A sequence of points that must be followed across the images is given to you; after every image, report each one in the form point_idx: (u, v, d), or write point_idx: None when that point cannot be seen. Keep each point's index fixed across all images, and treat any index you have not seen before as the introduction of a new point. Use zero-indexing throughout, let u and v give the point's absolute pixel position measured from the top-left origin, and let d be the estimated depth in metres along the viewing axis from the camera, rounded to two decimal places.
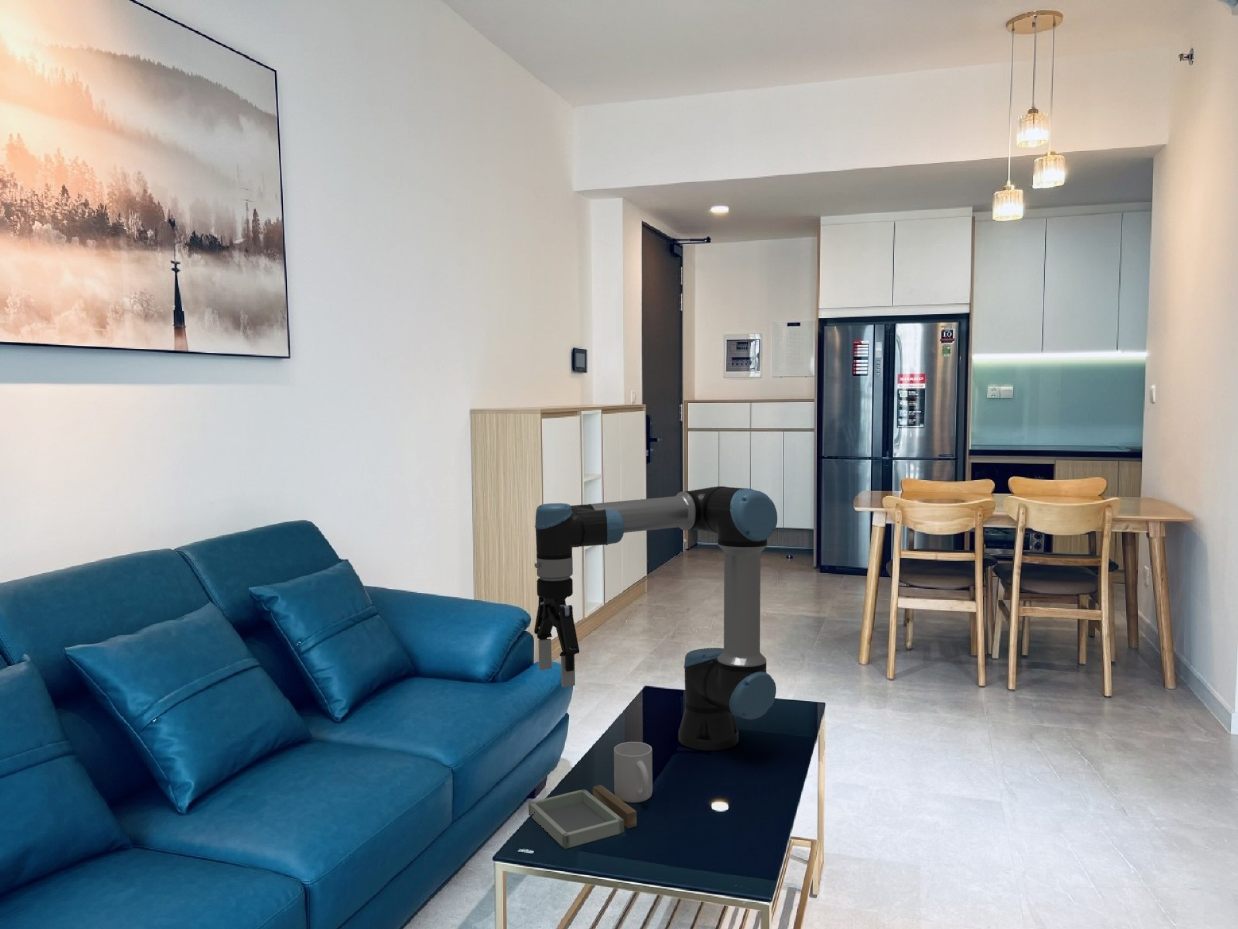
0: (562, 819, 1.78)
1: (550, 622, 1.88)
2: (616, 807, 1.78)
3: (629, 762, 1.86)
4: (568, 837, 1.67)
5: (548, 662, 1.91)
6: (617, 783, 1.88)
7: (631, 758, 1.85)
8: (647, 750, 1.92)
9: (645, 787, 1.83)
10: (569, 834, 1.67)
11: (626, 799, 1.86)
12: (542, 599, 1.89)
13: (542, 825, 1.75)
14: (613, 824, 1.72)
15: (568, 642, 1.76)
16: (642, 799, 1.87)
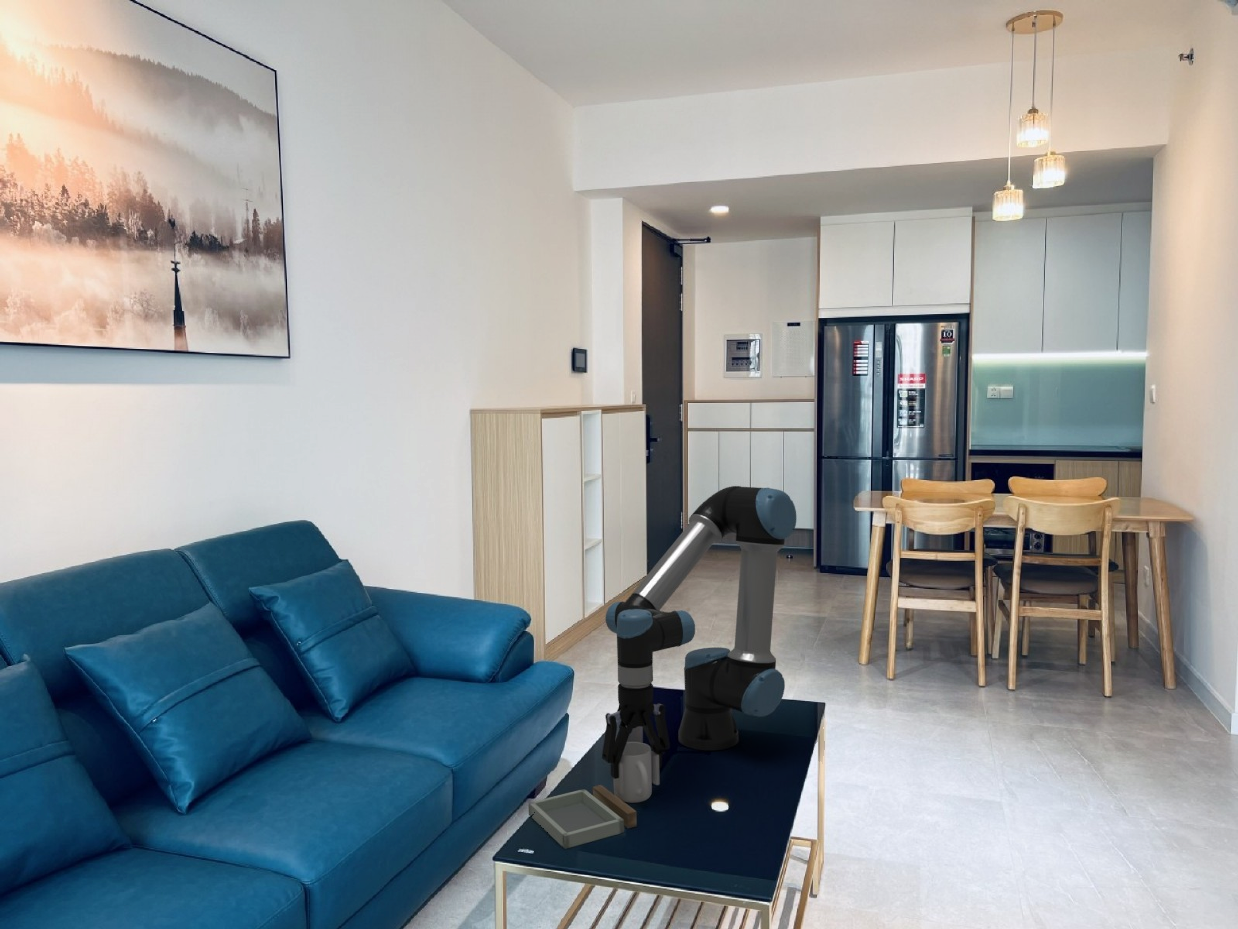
0: (562, 819, 1.78)
1: (647, 731, 1.89)
2: (616, 807, 1.78)
3: (628, 762, 1.86)
4: (568, 837, 1.67)
5: (654, 777, 1.90)
6: None
7: (631, 758, 1.85)
8: (646, 750, 1.92)
9: (644, 787, 1.82)
10: (569, 834, 1.67)
11: (625, 799, 1.86)
12: None
13: (542, 825, 1.75)
14: (613, 824, 1.72)
15: (604, 749, 1.85)
16: (641, 799, 1.86)
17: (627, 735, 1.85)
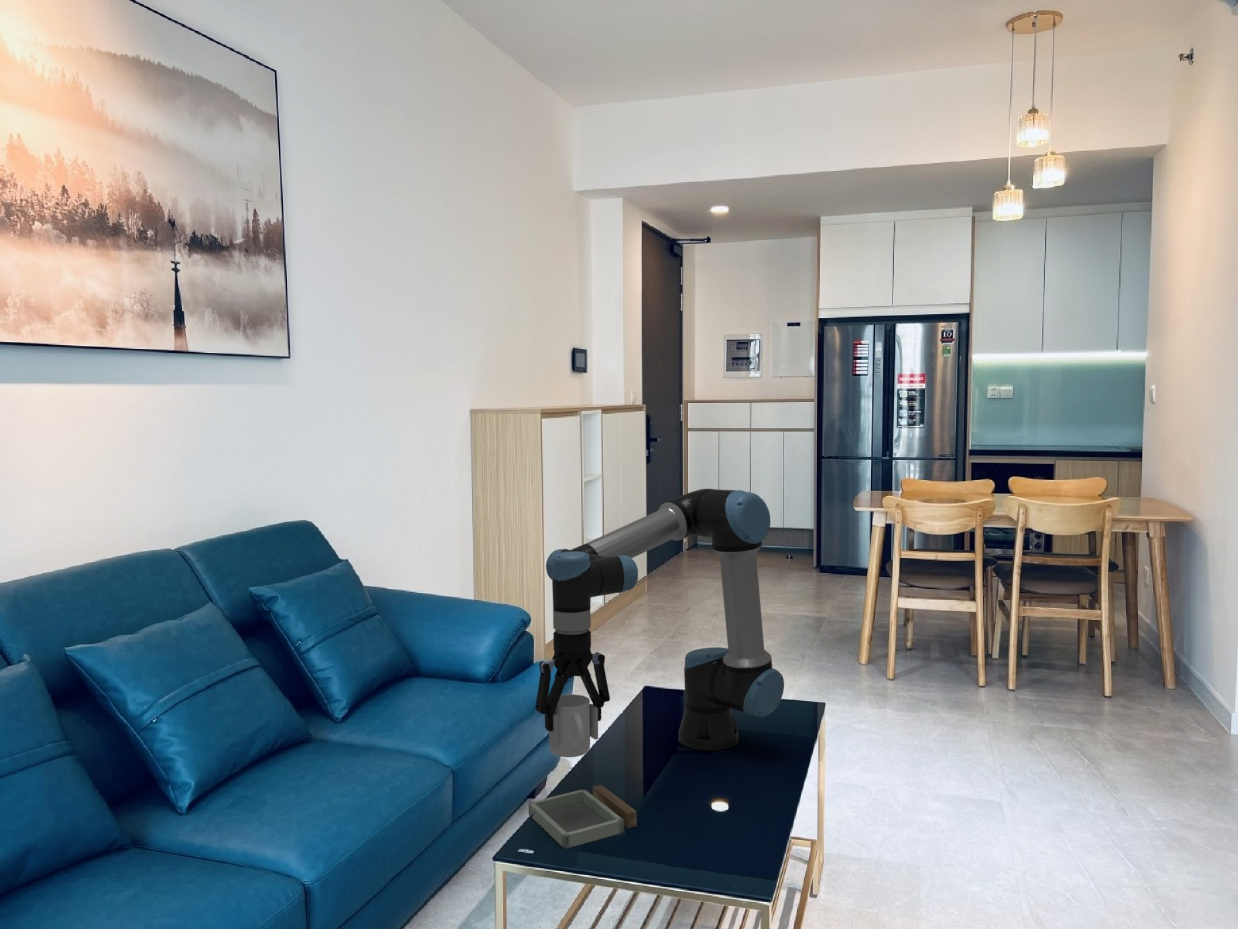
0: (562, 819, 1.78)
1: (585, 682, 1.77)
2: (616, 807, 1.78)
3: (564, 713, 1.74)
4: (568, 837, 1.67)
5: (593, 731, 1.78)
6: None
7: (566, 709, 1.73)
8: (585, 703, 1.80)
9: (580, 740, 1.71)
10: (569, 834, 1.67)
11: (561, 753, 1.74)
12: None
13: (542, 825, 1.75)
14: (613, 824, 1.72)
15: (537, 699, 1.73)
16: (578, 754, 1.74)
17: (562, 685, 1.73)
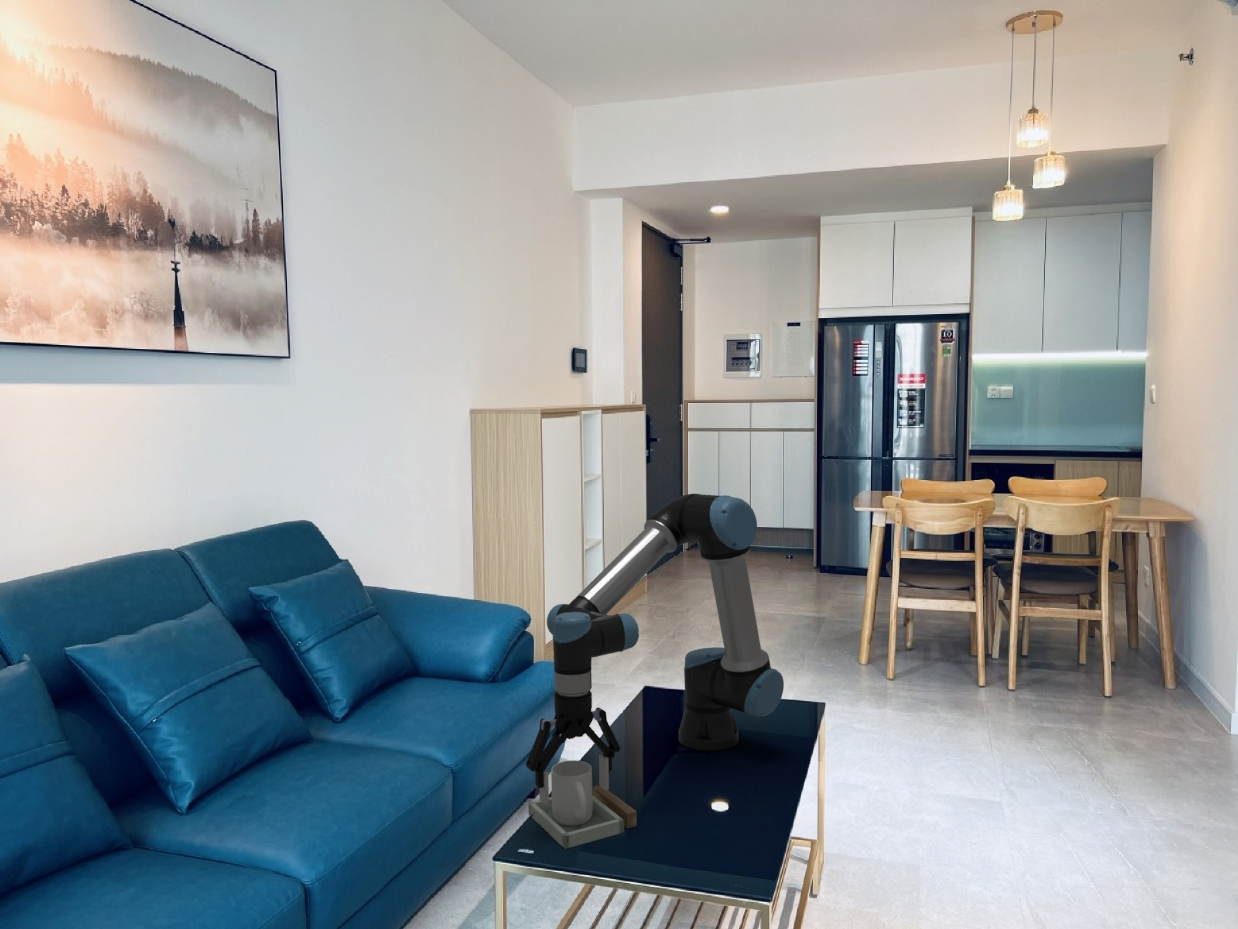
0: None
1: (591, 738, 1.78)
2: (616, 807, 1.78)
3: (566, 783, 1.74)
4: (568, 837, 1.67)
5: (604, 781, 1.79)
6: (554, 805, 1.76)
7: (568, 778, 1.74)
8: (587, 769, 1.81)
9: (582, 810, 1.71)
10: (569, 834, 1.67)
11: (563, 822, 1.75)
12: None
13: (542, 825, 1.75)
14: (613, 824, 1.72)
15: (530, 755, 1.73)
16: (580, 822, 1.75)
17: (559, 744, 1.73)
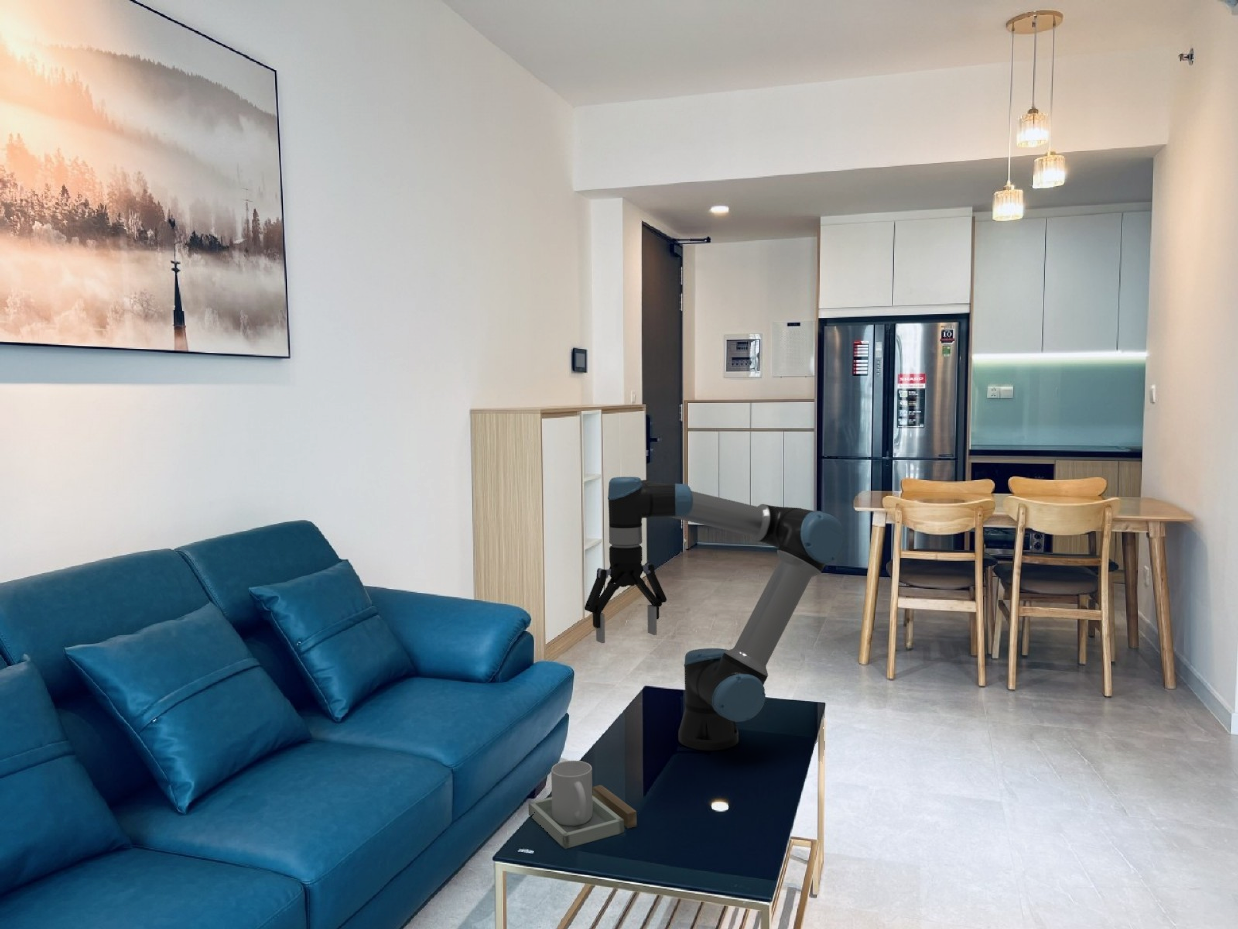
0: None
1: (641, 589, 2.01)
2: (616, 807, 1.78)
3: (566, 783, 1.75)
4: (568, 837, 1.67)
5: (652, 628, 2.02)
6: (554, 805, 1.76)
7: (568, 778, 1.74)
8: (587, 770, 1.81)
9: (582, 810, 1.71)
10: (569, 834, 1.67)
11: (563, 822, 1.75)
12: None
13: (542, 825, 1.75)
14: (613, 824, 1.72)
15: (588, 599, 1.95)
16: (580, 822, 1.75)
17: (613, 590, 1.96)
